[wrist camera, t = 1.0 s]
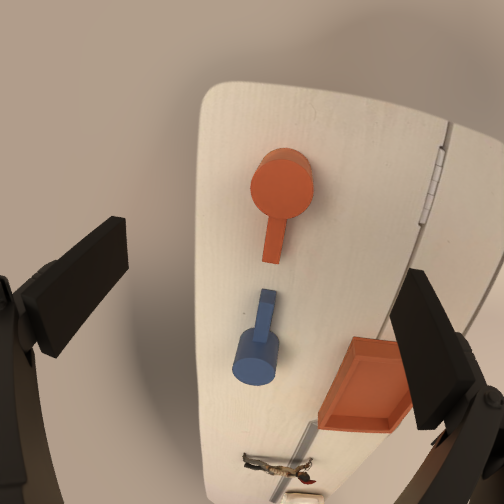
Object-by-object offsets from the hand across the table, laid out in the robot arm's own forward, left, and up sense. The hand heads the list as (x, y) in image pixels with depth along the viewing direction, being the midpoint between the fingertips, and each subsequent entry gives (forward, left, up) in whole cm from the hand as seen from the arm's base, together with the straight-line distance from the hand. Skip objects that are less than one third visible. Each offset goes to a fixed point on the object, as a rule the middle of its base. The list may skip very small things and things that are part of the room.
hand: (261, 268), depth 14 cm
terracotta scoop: (+2, +1, -17) cm, 17 cm away
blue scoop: (+16, +9, -17) cm, 24 cm away
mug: (+56, +51, -17) cm, 77 cm away
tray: (+14, +27, -17) cm, 35 cm away
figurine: (+42, +32, -17) cm, 55 cm away
